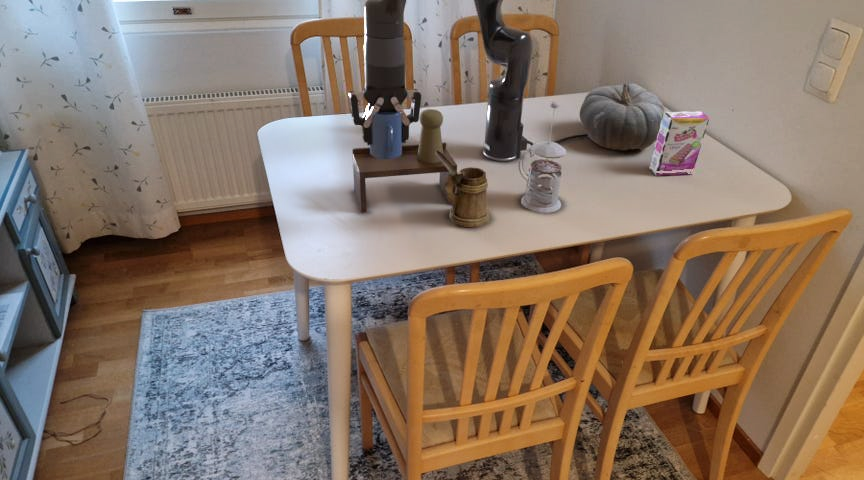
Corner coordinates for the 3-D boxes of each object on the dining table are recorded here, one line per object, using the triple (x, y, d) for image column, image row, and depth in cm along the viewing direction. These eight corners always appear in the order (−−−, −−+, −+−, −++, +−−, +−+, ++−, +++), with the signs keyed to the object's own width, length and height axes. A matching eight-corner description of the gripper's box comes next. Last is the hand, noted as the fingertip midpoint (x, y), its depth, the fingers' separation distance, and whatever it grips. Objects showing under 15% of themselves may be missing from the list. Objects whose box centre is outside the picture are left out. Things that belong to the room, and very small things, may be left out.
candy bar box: (656, 177, 169) (671, 118, 160) (648, 168, 173) (662, 110, 164) (693, 175, 172) (710, 117, 162) (684, 167, 175) (700, 110, 166)
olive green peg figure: (439, 164, 143) (441, 117, 137) (413, 160, 144) (414, 114, 137) (446, 154, 148) (448, 108, 142) (421, 150, 149) (422, 104, 142)
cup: (398, 145, 132) (398, 102, 127) (407, 162, 126) (407, 118, 121) (367, 147, 130) (366, 104, 125) (374, 164, 124) (373, 120, 119)
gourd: (635, 113, 200) (647, 62, 188) (677, 158, 184) (693, 105, 172) (563, 126, 194) (570, 74, 182) (600, 173, 178) (611, 120, 165)
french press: (549, 217, 147) (565, 113, 133) (506, 201, 152) (517, 100, 138) (568, 201, 154) (584, 101, 140) (526, 187, 159) (538, 88, 145)
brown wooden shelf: (443, 184, 157) (445, 142, 150) (455, 204, 149) (457, 160, 143) (354, 192, 150) (352, 148, 144) (361, 212, 143) (359, 167, 136)
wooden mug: (424, 216, 143) (426, 141, 133) (476, 205, 149) (482, 133, 139) (442, 235, 137) (445, 158, 127) (496, 222, 143) (503, 148, 133)
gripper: (348, 66, 113) (352, 152, 122) (427, 64, 117) (425, 148, 127) (342, 53, 119) (347, 137, 128) (417, 52, 123) (416, 133, 132)
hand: (386, 142), depth 127 cm, fingers closed on cup, 6 cm apart
